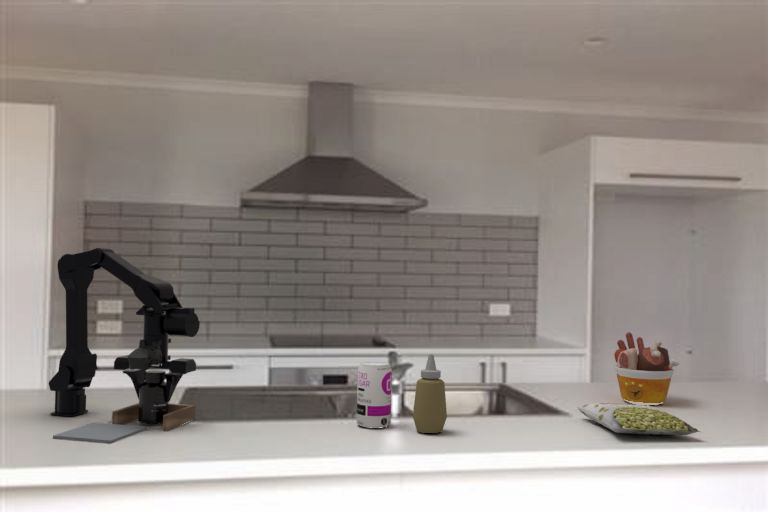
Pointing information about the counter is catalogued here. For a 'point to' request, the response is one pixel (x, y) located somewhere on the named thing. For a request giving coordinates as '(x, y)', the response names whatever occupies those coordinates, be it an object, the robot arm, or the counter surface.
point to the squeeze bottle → (430, 400)
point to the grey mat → (100, 432)
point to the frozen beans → (636, 419)
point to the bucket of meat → (643, 371)
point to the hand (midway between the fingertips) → (154, 400)
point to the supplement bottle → (153, 398)
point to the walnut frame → (173, 419)
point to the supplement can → (374, 394)
